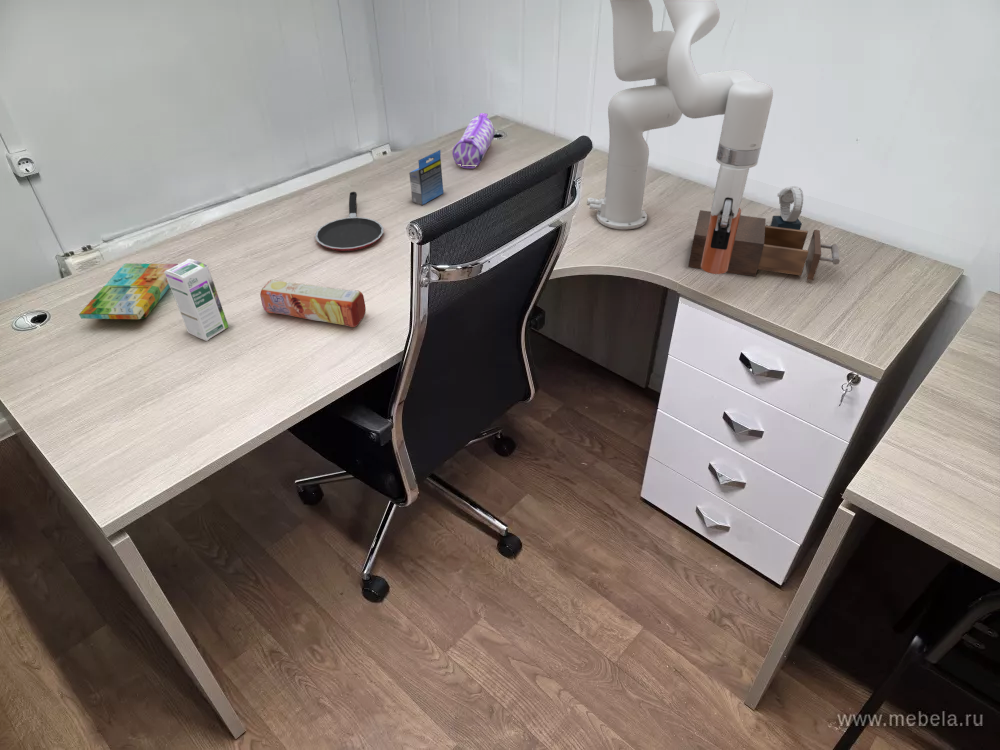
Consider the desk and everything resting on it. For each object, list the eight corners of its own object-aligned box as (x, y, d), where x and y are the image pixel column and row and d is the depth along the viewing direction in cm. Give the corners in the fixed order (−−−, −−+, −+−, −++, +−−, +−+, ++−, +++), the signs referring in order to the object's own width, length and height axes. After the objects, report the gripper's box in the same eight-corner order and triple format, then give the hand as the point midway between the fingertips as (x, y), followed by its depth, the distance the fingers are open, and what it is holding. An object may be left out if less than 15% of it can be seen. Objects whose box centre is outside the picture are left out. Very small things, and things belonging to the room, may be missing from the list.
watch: (789, 223, 168) (801, 181, 161) (800, 238, 162) (813, 195, 155) (767, 223, 168) (778, 181, 162) (777, 239, 162) (789, 195, 155)
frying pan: (322, 204, 180) (319, 192, 178) (383, 200, 182) (382, 188, 180) (313, 256, 159) (311, 243, 156) (384, 250, 160) (382, 238, 158)
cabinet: (757, 250, 158) (765, 218, 153) (755, 276, 149) (764, 244, 144) (693, 241, 162) (699, 210, 157) (688, 266, 153) (694, 234, 148)
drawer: (832, 258, 153) (840, 232, 149) (834, 283, 145) (843, 257, 141) (750, 246, 158) (756, 222, 154) (748, 270, 149) (754, 245, 145)
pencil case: (482, 172, 196) (481, 139, 190) (451, 170, 197) (449, 137, 191) (495, 144, 212) (495, 113, 206) (466, 142, 214) (465, 112, 208)
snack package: (262, 316, 139) (254, 288, 135) (279, 299, 144) (272, 271, 140) (355, 332, 134) (350, 304, 130) (369, 314, 139) (365, 286, 135)
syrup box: (206, 342, 133) (183, 278, 123) (186, 333, 135) (162, 269, 126) (229, 327, 136) (209, 264, 127) (209, 319, 139) (188, 256, 130)
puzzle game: (176, 260, 148) (135, 310, 133) (183, 278, 151) (143, 330, 136) (124, 259, 149) (77, 310, 133) (132, 278, 152) (86, 329, 136)
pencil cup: (699, 271, 140) (710, 213, 132) (701, 259, 144) (713, 201, 136) (727, 275, 138) (740, 217, 130) (729, 262, 143) (742, 205, 134)
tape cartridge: (433, 190, 186) (429, 146, 178) (444, 193, 184) (441, 149, 176) (411, 202, 181) (407, 157, 173) (422, 205, 179) (418, 160, 171)
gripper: (720, 135, 133) (704, 220, 145) (713, 168, 121) (696, 258, 132) (760, 139, 131) (741, 224, 143) (757, 173, 119) (736, 263, 130)
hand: (719, 240), depth 137 cm, fingers closed on pencil cup, 5 cm apart
